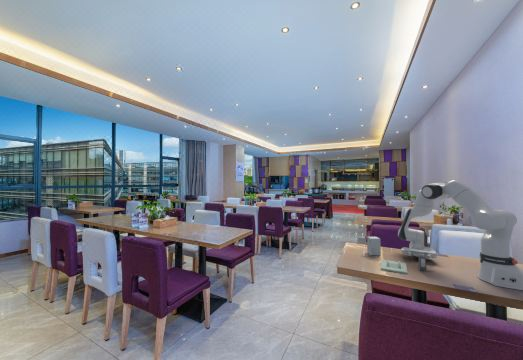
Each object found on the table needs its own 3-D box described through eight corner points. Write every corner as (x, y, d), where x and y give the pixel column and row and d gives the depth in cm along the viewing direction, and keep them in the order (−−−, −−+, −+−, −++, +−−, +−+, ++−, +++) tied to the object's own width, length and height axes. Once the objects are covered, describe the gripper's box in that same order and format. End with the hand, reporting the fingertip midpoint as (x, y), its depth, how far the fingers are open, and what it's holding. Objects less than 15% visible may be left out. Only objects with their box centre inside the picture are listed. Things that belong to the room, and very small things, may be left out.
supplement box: (376, 252, 173) (376, 236, 174) (381, 255, 166) (380, 238, 166) (367, 252, 174) (366, 236, 174) (370, 255, 167) (370, 238, 167)
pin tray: (381, 261, 154) (381, 256, 154) (405, 264, 147) (405, 259, 147) (380, 269, 139) (380, 264, 139) (407, 274, 132) (407, 268, 132)
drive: (418, 267, 143) (418, 253, 143) (424, 268, 141) (424, 254, 141) (419, 270, 137) (419, 256, 137) (426, 271, 136) (425, 256, 136)
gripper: (400, 244, 167) (401, 248, 155) (434, 248, 157) (438, 253, 145) (400, 252, 167) (401, 258, 155) (434, 257, 157) (438, 263, 145)
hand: (419, 255), depth 150 cm, fingers open, 8 cm apart
